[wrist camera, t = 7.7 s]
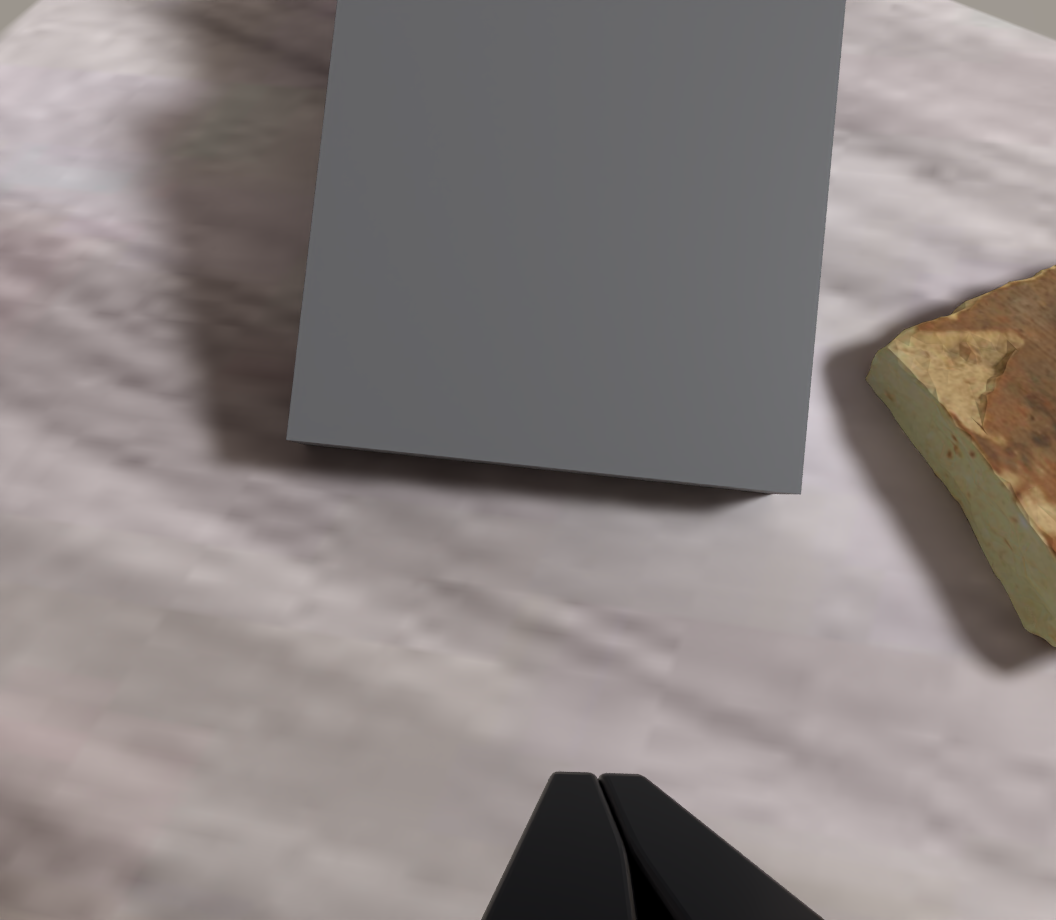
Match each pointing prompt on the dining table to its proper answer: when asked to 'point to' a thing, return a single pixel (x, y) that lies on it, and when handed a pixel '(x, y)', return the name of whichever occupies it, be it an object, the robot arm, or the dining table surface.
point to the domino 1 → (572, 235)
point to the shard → (989, 427)
